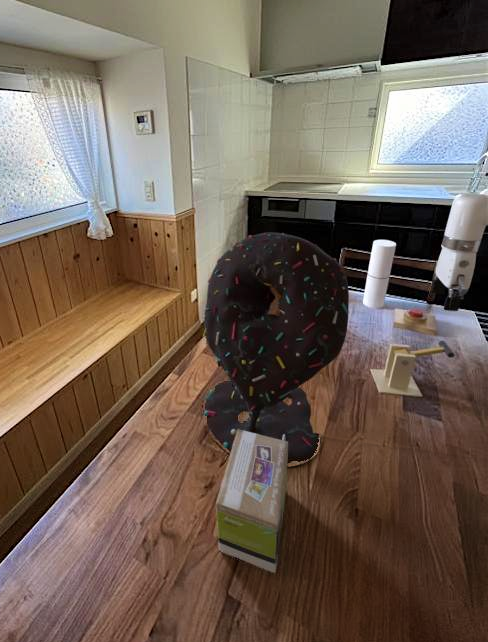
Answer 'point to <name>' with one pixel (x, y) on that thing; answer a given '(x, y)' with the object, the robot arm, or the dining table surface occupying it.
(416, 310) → the lamp button
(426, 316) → the button block
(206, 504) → the dining table surface
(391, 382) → the switch bracket
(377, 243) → the cylindrical container
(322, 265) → the chocolate sprinkled donut
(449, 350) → the switch lever
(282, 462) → the tea box
